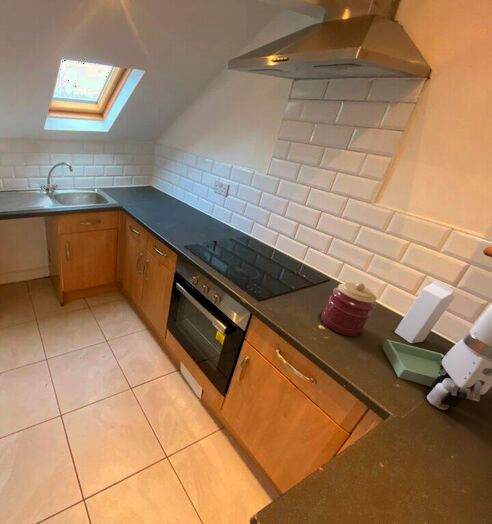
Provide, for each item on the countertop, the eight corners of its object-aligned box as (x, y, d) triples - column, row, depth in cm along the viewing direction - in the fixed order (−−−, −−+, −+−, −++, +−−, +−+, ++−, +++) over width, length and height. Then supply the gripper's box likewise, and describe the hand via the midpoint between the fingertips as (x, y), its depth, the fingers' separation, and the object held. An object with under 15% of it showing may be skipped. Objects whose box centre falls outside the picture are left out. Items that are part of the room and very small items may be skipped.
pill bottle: (442, 412, 79) (459, 392, 75) (423, 398, 82) (439, 378, 78) (450, 407, 80) (468, 387, 77) (431, 393, 84) (447, 374, 80)
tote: (436, 361, 96) (442, 354, 94) (461, 395, 84) (469, 387, 83) (381, 346, 100) (386, 339, 98) (398, 377, 88) (404, 369, 87)
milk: (410, 343, 103) (448, 290, 92) (393, 331, 108) (427, 280, 97) (423, 341, 104) (461, 289, 94) (405, 330, 109) (440, 279, 99)
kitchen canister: (345, 340, 101) (369, 297, 92) (312, 316, 111) (331, 276, 103) (368, 332, 106) (393, 291, 98) (335, 310, 116) (355, 271, 108)
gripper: (533, 377, 63) (479, 430, 72) (482, 328, 78) (441, 377, 86) (490, 366, 65) (442, 418, 74) (448, 320, 79) (411, 369, 88)
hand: (442, 396), depth 80 cm, fingers closed on pill bottle, 4 cm apart
